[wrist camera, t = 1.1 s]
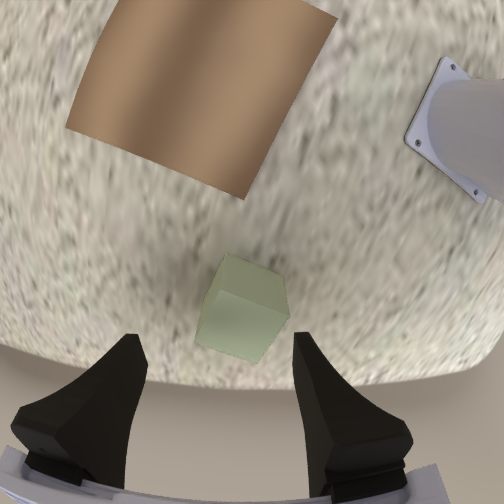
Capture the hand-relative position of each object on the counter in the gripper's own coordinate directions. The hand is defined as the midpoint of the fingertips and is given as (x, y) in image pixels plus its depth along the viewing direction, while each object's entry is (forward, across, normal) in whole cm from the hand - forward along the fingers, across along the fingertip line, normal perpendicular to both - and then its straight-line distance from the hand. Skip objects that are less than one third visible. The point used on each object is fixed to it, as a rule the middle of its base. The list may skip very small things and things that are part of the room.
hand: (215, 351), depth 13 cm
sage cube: (+10, -1, +2) cm, 10 cm away
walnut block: (+10, +1, -13) cm, 16 cm away
